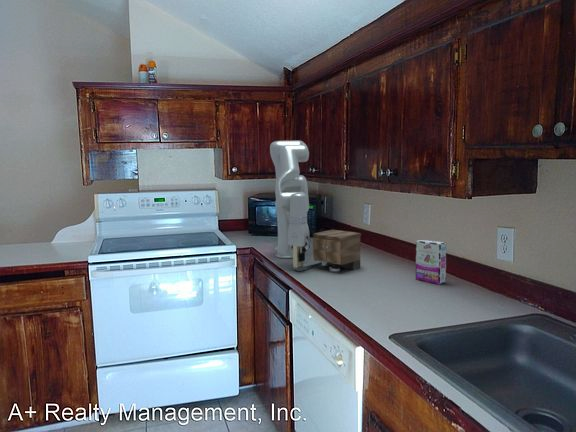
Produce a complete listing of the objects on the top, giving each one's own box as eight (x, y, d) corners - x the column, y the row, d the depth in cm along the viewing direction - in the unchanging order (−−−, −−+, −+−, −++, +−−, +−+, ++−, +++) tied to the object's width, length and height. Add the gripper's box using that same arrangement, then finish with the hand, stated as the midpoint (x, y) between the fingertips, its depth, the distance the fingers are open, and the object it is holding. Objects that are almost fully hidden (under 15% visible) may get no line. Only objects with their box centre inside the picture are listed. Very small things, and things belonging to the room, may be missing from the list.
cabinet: (311, 268, 199) (311, 234, 197) (333, 262, 210) (333, 229, 208) (339, 274, 187) (339, 238, 185) (361, 267, 198) (361, 233, 196)
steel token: (327, 271, 194) (327, 268, 193) (332, 268, 198) (332, 265, 198) (337, 273, 191) (337, 269, 191) (342, 270, 195) (342, 267, 195)
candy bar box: (446, 282, 172) (447, 242, 169) (439, 285, 168) (440, 243, 166) (421, 277, 180) (422, 238, 178) (414, 279, 177) (415, 240, 175)
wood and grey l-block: (292, 270, 196) (291, 245, 194) (315, 264, 207) (315, 240, 205) (298, 271, 193) (298, 246, 192) (321, 265, 204) (321, 241, 203)
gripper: (280, 220, 197) (281, 259, 199) (305, 223, 185) (306, 265, 188) (292, 218, 202) (293, 256, 204) (317, 221, 190) (318, 261, 193)
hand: (299, 260), depth 196 cm, fingers closed on wood and grey l-block, 2 cm apart
